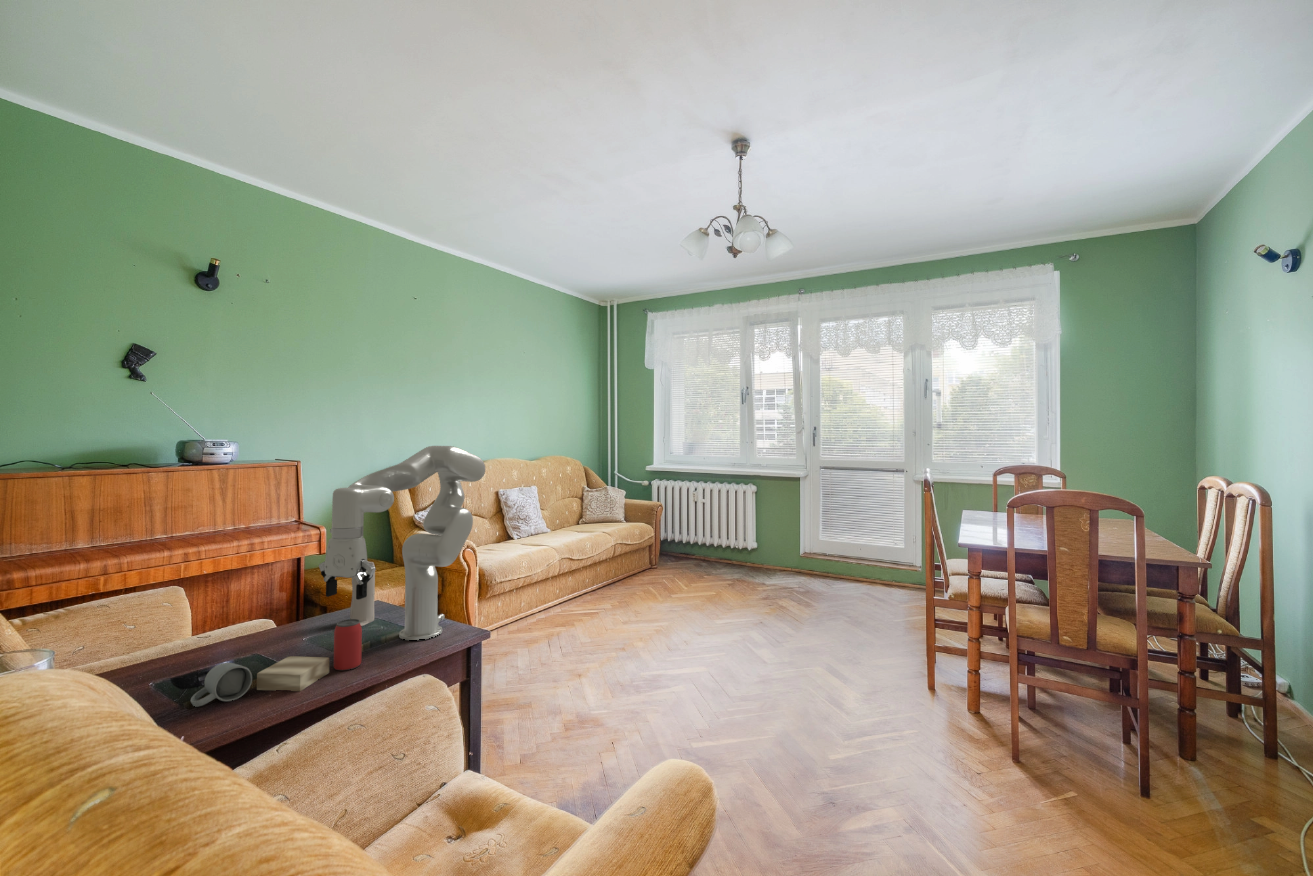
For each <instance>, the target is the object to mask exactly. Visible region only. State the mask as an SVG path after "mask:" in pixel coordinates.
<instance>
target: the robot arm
mask: <svg viewBox="0 0 1313 876" xmlns="http://www.w3.org/2000/svg"><path fill="white" fill-rule="evenodd" d="M435 474H437V476H438V478H439V484H440V488H439V493H438V495H437V496H436V498H435V500H434V502H433V504H432V505H431V507H430V509H429V510H428V511H427V513H426V515H425V517H424V520H423V523H422V526H423V529H424V531H426V532H427V533H416V534H412V535H410V536H409V537H407V538H406V540H405V541H404V542H403V545H402V546H401V547H402V549H401V550H402V551H401V552H402V553H401V554H402V559H403V564H404V573H405V574H404V576H405V577H404V578H405V580H404V582H405V583H404V584H405V586H404V588H405V589H404V591H405V592H404V628H403V629H402V630H400V631H399V632H398V634H399V635H398V636H399V638H400V639H402V640H403V639H405V640H404V641H409V640H417V641H420V640H419V639H425V640H429V638H430V639H432V638H431V637H433V638H436V637H438V636H440V635H441V634H442V633H443V627H442V626H441V625H439V622H441V621H443V620H445V616H446V615H445V614H443V613H440V614H438V606H439V605H438V604H439V603H438V594H439V591H438V590H439V576H438V572H437V568H436V567H440V568H443V567H449V566H451V565H452V564H453V563H454V562H455V561H456V559H457V558H458V556H459V554H460V553H461V551H462V550H463V549H462V548H463V547H464V546H465V543H466V541H467V540H468V538H469V536H470V534H471V531H472V529H473V525H474V517H473V514H472V512H471V511H470V510H468V508H466V507H463V504H464V502H465V499H466V497H465V492H464V489H463V486H462V483H461V482H467V483H468V482H469V483H470V482H471V483H474V482H479V481H480V480H482V479H483V477H485V474H486V464H485V461H484V460H482V458H480V457H479V456H477V455H475V454H473V453H471V452H469V451H466V450H464V449H462V448H459V447H457V446H454V445H453V446H452V445H430V446H426V447H424V448H422V449H421V450H419V451H418V452H416V453H414V454H413V455H411V456H409V457H407V458H406V459H404V460H403V461H401V462H399V463H397V464H395V465H392V466H391V465H390V466H389V467H386V468H384V469H381V470H378V471H377V470H376V471H375V472H371V473H369V474H367V475H365V476H363V477H361V478H359V479H358V480H357V481H354V482H353V483H351V484H350V485H349V486H348V487H340V488H339V487H338V488H335V489H334V491H333V492H332V504H331V506H332V508H331V509H332V511H331V528H330V530H329V533H330V534H331V538H329V539H328V543H327V545H326V551H325V559H324V561H322V562H321V563H319V564H318V568H319V570H320V575H321V576H322V577H323V581H324V583H325V597H327V598H329V597H331V596H336V595H337V594H338V579H336V578H347V579H350V578H351V579H352V577H355V579H356V580H357V582H358V583H359V584H357V585H356V599H357V600H359V599H362V598H365V597H366V596H367V583H368V582H369V581H370V579H371V578H372V577H373V574H374V572H375V573H376V567H374V566H375V565H374V566H373V565H371V564H370V563H368V562H369V561H368V551H367V545H366V543H367V542H366V538H365V537H364V521H365V520H364V519H365V518H364V515H365V513H383V512H385V511H388V510H389V509H390V508H391V507H392V506H393V505H394V502H395V495H394V492H401V491H405V490H410V489H413V488H415V487H417V486H419V485H421V484H422V483H423V482H424V481H426V480H428V479H429V478H430V477H432V476H433V475H435ZM367 561H368V562H367ZM366 571H367V574H366ZM360 576H361V577H362V578H361V577H360ZM441 619H442V620H441ZM439 634H440V635H439ZM437 635H438V636H437ZM435 636H436V637H435Z"/></svg>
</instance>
